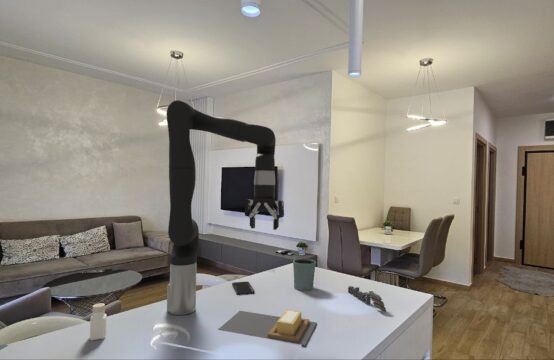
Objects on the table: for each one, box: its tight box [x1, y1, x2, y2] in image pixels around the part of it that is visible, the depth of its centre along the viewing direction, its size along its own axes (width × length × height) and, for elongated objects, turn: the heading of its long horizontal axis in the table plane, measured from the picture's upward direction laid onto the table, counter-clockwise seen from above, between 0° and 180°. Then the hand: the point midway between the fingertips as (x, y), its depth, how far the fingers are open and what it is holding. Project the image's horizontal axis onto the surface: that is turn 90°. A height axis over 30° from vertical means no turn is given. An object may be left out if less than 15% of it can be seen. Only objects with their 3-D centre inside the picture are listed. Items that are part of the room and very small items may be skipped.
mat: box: [217, 310, 317, 348], centre depth 103 cm, size 28×16×2 cm, turn 71°
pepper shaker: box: [89, 302, 108, 341], centre depth 95 cm, size 4×4×10 cm
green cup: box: [292, 258, 317, 292], centre depth 144 cm, size 10×10×12 cm
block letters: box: [347, 285, 387, 313], centre depth 127 cm, size 25×2×6 cm, turn 16°
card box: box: [277, 309, 302, 336], centre depth 101 cm, size 10×5×4 cm, turn 161°
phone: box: [231, 281, 256, 296], centre depth 141 cm, size 8×1×15 cm
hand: (263, 228), depth 115 cm, fingers open, 8 cm apart
